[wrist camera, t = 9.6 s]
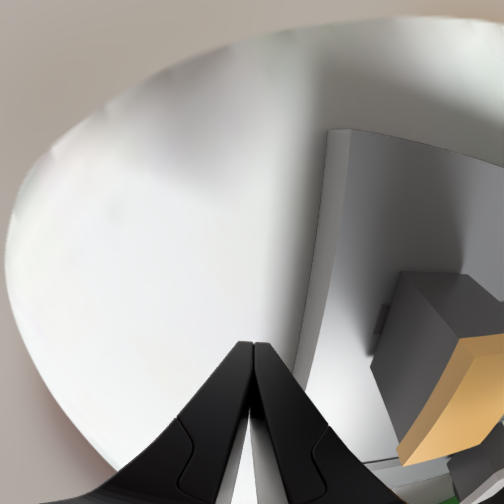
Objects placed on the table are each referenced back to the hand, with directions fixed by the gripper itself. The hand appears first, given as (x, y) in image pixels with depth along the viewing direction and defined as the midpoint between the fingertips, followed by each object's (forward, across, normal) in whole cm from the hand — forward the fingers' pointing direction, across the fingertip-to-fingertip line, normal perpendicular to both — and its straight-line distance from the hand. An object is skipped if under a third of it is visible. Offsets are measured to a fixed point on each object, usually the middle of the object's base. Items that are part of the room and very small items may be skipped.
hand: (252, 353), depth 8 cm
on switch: (+2, -16, +11) cm, 20 cm away
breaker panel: (+5, -11, +5) cm, 13 cm away
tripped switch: (+2, -6, 0) cm, 6 cm away
